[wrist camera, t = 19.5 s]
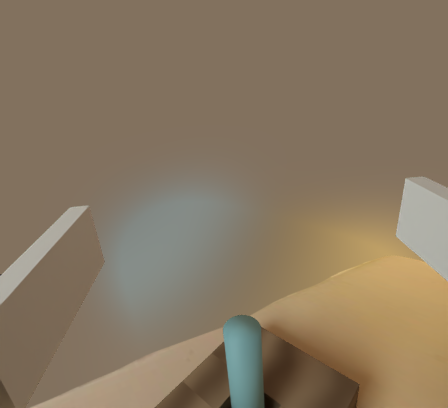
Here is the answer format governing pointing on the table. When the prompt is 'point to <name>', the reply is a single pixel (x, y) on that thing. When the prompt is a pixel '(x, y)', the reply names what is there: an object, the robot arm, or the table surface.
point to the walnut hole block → (268, 381)
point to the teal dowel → (244, 361)
